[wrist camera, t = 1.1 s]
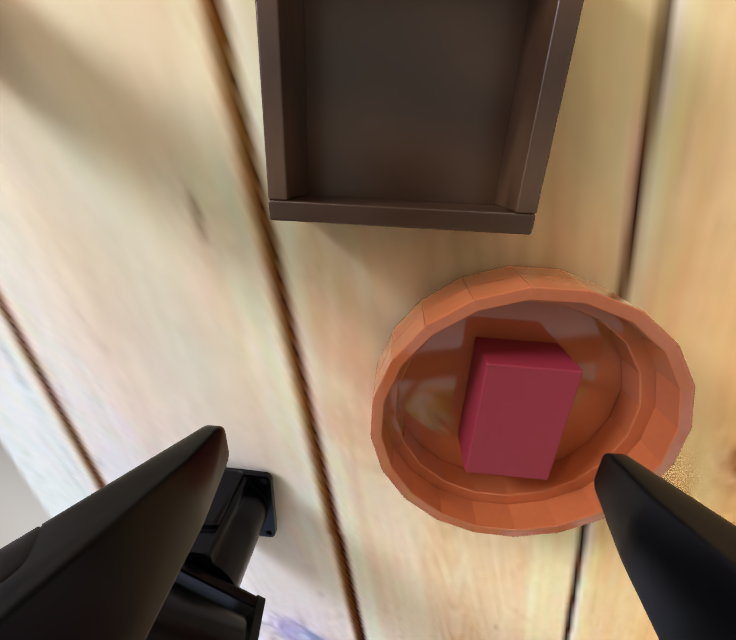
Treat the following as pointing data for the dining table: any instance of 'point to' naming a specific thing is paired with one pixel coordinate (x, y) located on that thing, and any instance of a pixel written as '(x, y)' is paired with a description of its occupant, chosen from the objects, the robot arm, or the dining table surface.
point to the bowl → (587, 416)
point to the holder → (412, 109)
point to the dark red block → (516, 406)
